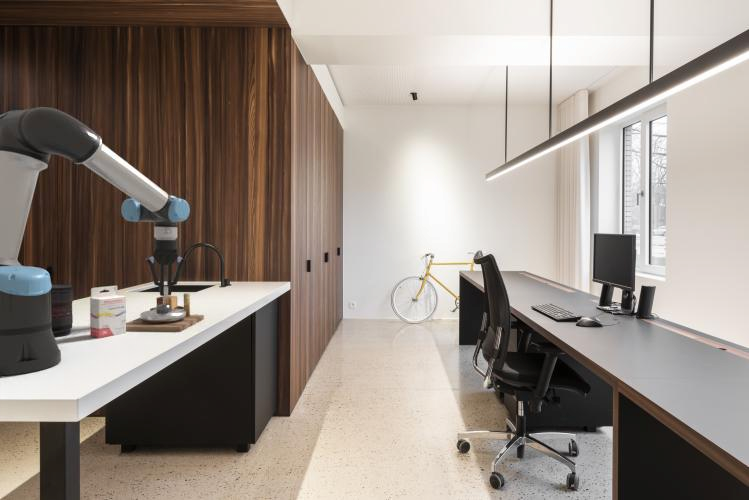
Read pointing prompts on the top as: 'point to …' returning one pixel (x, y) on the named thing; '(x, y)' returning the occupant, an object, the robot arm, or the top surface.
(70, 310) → the camera lens
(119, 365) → the top surface
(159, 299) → the cup and saucer
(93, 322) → the ink cartridge box
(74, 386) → the top surface
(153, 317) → the flange plate
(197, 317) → the walnut base
